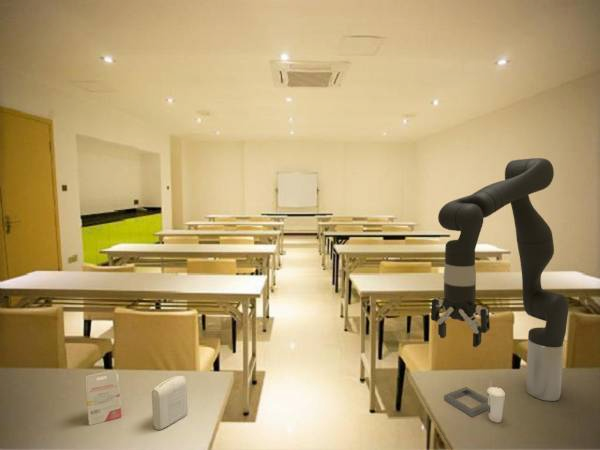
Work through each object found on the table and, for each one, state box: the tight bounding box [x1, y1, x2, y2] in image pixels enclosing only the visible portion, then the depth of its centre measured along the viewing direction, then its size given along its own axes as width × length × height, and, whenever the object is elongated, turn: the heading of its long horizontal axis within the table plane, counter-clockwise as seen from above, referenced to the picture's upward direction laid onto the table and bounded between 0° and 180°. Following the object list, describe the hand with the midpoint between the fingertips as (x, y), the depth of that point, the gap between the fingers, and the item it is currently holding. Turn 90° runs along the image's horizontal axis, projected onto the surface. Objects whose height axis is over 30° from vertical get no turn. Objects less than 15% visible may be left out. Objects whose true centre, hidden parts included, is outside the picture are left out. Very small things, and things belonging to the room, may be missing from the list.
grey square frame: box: [443, 386, 488, 418], centre depth 115 cm, size 10×10×2 cm
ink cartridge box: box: [84, 369, 122, 426], centre depth 110 cm, size 9×5×15 cm, turn 115°
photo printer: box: [151, 375, 189, 431], centre depth 109 cm, size 10×4×12 cm, turn 144°
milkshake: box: [486, 380, 506, 424], centre depth 107 cm, size 5×5×10 cm
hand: (458, 341), depth 98 cm, fingers open, 8 cm apart
